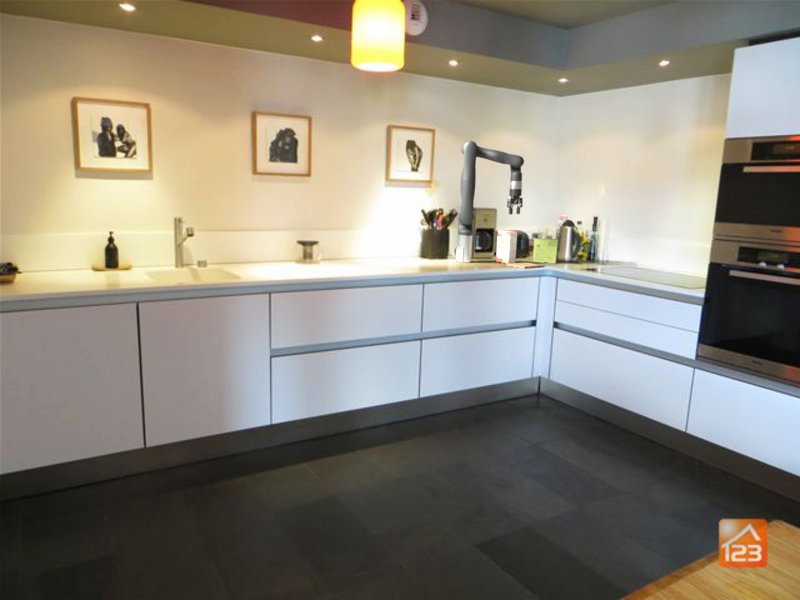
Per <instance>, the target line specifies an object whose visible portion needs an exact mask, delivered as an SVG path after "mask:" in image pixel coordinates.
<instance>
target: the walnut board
mask: <svg viewBox="0 0 800 600" xmlns="http://www.w3.org/2000/svg"><path fill="white" fill-rule="evenodd" d="M505 265H507V266H506V267H511V266H513V268H517V267H518V268H520V269H534V268H536V269H537V268H545V264H541V263H540V264H539V263H534V262H515V263H513V264H505Z"/></svg>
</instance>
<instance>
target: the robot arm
mask: <svg viewBox="0 0 800 600" xmlns="http://www.w3.org/2000/svg"><path fill="white" fill-rule="evenodd" d="M460 150H461V153H462V155H463V166H462V171H461V176H460V197H461V207H460V212H459V214H458V223H457V224H458V229H457V246H456V247H455V248H456V249H455V262H456V261H457V262H458V263H471V262H472V253H473V252H472V250H473V235H474V230H473V225H474V220H475V213H474V212H475V211H474V203H475V202H474V200H475V194H476V177H477V176H476V175H477V171H476V165H477V158H479V159H485V160H488V161H490V162H495V163H499V164H502V165H507V166H508V165H509V167H510V180H509V182H510V183H509V195H508V196H509V197H507V201H506V207H507V208H508V214H509V215H513V212H514V211H513V210H514V209H513V208H514V206H516V207H515V208H516V209H515V210H516V212H515V213H516V215H520V214H521V208H523V199H524V198H523V197H522V191H523V182H522V181H523V173H522V166H524V163H525V160H524V158H523V157H522V156H520V155H518V154H511V153H508V152H504V151H501V150H496V149H490V148H486V147H485V148H484V147H481V146H479V145H477V143H476V142H475V141H474V140H467V141H465V142H464V143H463V144H462V145H461V148H460ZM457 262H456V263H457Z"/></svg>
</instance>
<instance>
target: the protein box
mask: <svg viewBox="0 0 800 600" xmlns="http://www.w3.org/2000/svg"><path fill="white" fill-rule="evenodd" d="M558 249H559V239H556V238H555V239H554V238H542V237H541V238H539V237H537V238H534V244H533V254H532V255H533V256H532V263H534V262H535V263H544V262H548V263H547V264H556V263H557V260H558Z"/></svg>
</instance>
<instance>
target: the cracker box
mask: <svg viewBox="0 0 800 600" xmlns="http://www.w3.org/2000/svg"><path fill="white" fill-rule="evenodd" d="M517 241H518V232H517V231H512V230H505V229H504V230H503V229H500V230H499V229H498V230H497V238H496V252H495V253H496V254H495V263H499V262H501V263H500V264H504V263H505V264H504V265H506V264H513V263H516V258H517V257H516V256H517V243H518V242H517Z"/></svg>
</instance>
